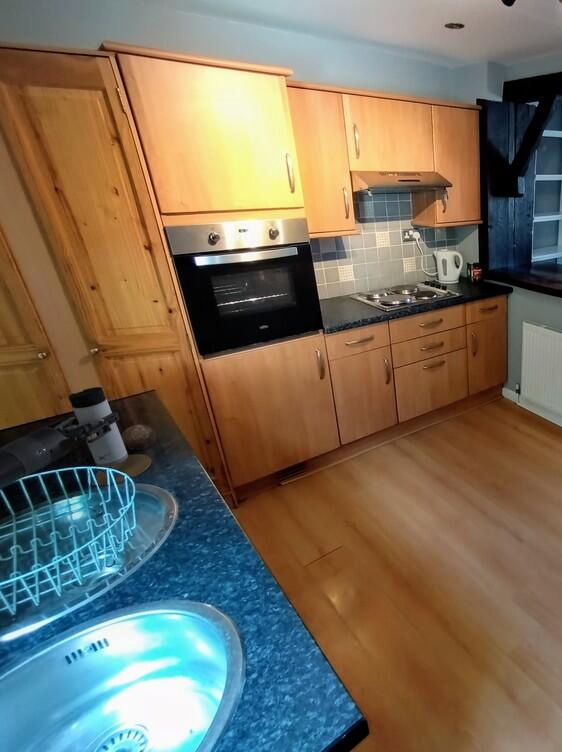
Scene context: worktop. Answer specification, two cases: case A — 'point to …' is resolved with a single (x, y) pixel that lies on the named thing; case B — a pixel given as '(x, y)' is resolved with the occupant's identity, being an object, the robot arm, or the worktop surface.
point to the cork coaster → (126, 468)
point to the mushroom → (138, 437)
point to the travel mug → (93, 408)
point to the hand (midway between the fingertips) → (104, 414)
